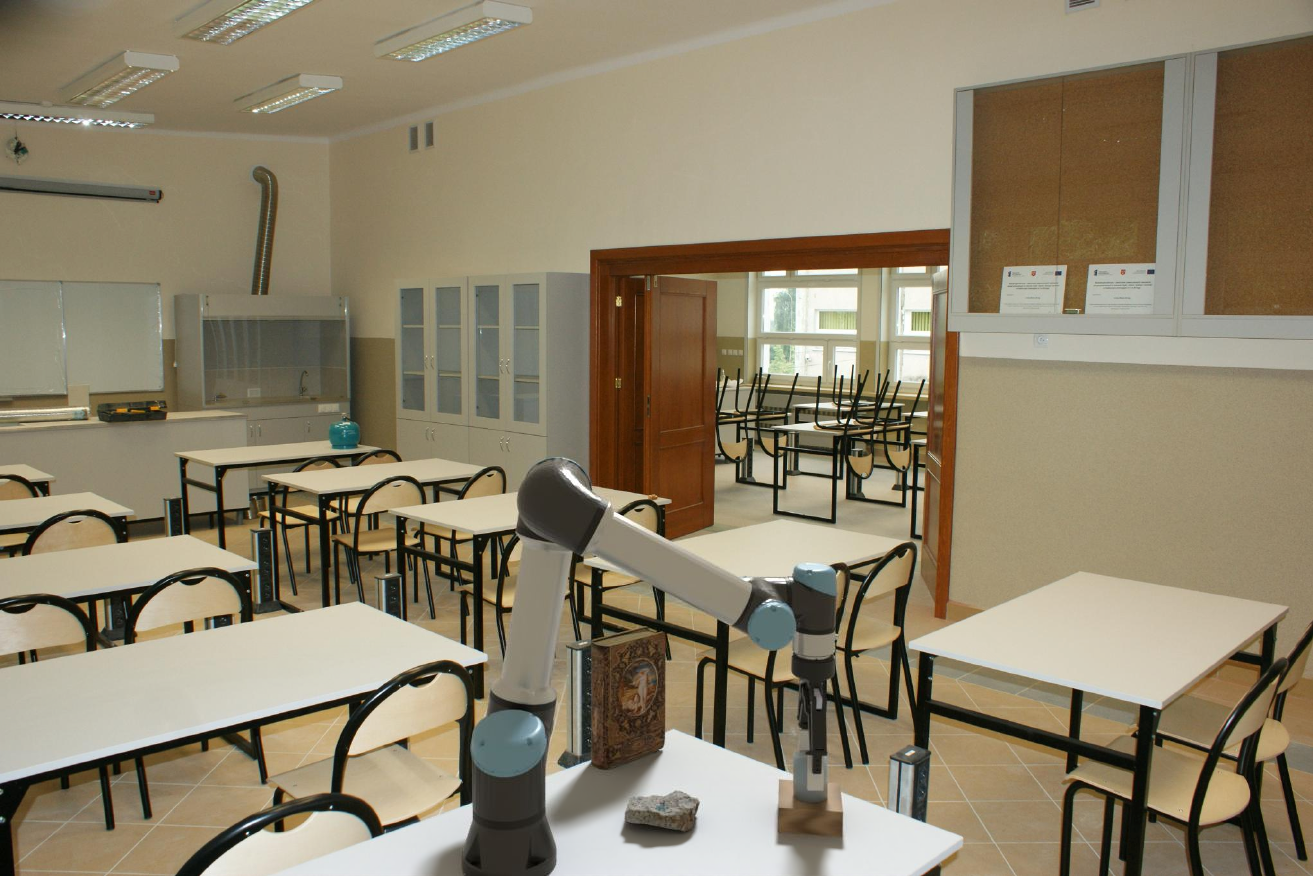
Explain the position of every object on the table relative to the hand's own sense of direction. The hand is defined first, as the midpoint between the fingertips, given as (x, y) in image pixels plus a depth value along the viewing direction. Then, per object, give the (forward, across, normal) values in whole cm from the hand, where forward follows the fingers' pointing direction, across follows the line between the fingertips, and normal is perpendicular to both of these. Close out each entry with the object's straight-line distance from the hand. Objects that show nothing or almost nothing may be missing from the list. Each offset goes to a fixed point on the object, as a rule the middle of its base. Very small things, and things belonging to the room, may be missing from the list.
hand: (810, 776), depth 171 cm
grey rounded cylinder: (+3, 0, 0) cm, 3 cm away
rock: (+9, -4, +26) cm, 28 cm away
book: (+8, +27, +33) cm, 43 cm away
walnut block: (+8, 0, 0) cm, 8 cm away
